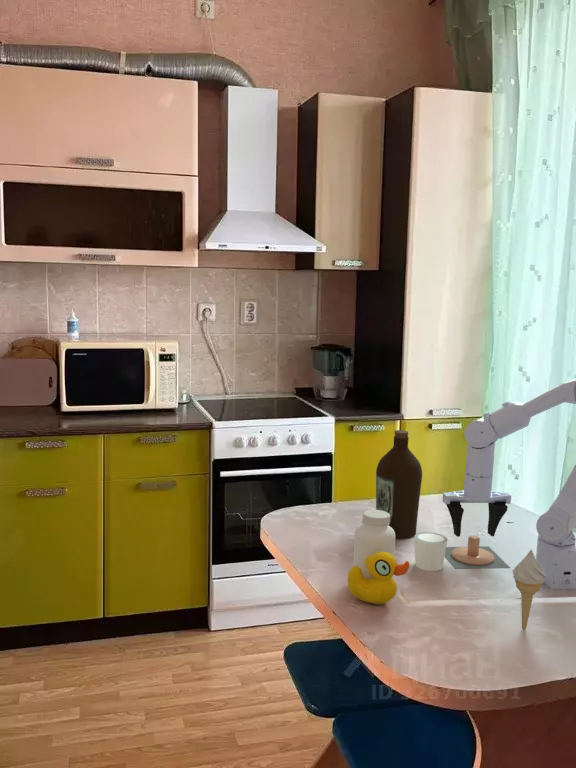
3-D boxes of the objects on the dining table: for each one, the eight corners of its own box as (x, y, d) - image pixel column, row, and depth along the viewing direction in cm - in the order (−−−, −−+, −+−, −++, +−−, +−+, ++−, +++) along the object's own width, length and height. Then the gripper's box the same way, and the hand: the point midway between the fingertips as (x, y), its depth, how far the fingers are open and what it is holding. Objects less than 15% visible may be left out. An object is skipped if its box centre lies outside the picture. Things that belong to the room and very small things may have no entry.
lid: (500, 565, 160) (502, 545, 159) (459, 565, 158) (461, 545, 158) (484, 548, 168) (486, 530, 168) (445, 549, 167) (447, 530, 167)
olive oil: (401, 524, 185) (407, 425, 181) (427, 539, 175) (434, 434, 171) (364, 530, 180) (369, 428, 176) (389, 545, 171) (395, 438, 167)
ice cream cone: (501, 628, 133) (508, 548, 131) (517, 619, 137) (524, 540, 134) (530, 640, 129) (538, 557, 127) (546, 630, 133) (554, 549, 131)
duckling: (408, 600, 143) (411, 550, 141) (405, 613, 138) (408, 561, 136) (349, 592, 146) (352, 543, 144) (344, 604, 141) (346, 553, 139)
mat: (510, 571, 158) (510, 567, 158) (454, 572, 157) (455, 568, 157) (488, 549, 170) (488, 546, 170) (437, 550, 169) (437, 547, 169)
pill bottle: (395, 581, 152) (399, 509, 149) (389, 597, 144) (393, 522, 142) (356, 575, 154) (359, 505, 151) (348, 591, 146) (352, 517, 144)
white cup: (443, 563, 161) (445, 532, 160) (447, 576, 155) (449, 544, 154) (411, 561, 162) (413, 530, 161) (413, 574, 155) (415, 542, 154)
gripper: (504, 468, 165) (498, 528, 168) (440, 468, 164) (435, 528, 166) (517, 478, 158) (511, 539, 161) (450, 478, 157) (446, 540, 159)
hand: (473, 534), depth 163 cm, fingers open, 7 cm apart
